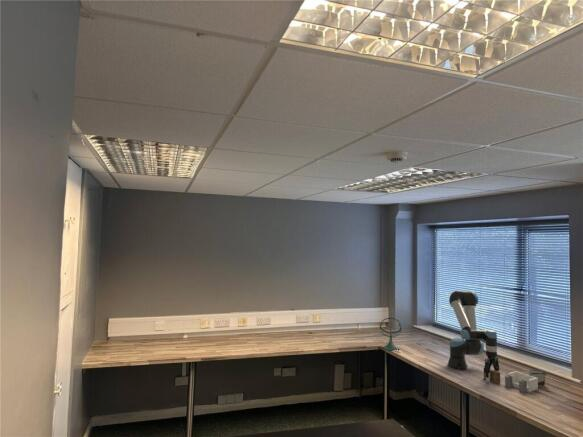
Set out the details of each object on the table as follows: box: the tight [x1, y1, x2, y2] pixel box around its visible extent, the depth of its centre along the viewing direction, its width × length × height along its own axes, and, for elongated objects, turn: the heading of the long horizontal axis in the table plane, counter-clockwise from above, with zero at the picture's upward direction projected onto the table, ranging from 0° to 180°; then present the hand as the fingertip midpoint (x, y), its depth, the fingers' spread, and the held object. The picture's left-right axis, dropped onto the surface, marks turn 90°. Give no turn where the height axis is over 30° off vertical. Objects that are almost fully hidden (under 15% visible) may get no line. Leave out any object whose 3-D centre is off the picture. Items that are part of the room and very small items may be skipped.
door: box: [483, 368, 501, 385], centre depth 286 cm, size 12×2×8 cm, turn 31°
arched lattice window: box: [528, 369, 547, 387], centre depth 280 cm, size 12×6×10 cm, turn 92°
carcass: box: [504, 370, 539, 393], centre depth 273 cm, size 16×17×8 cm
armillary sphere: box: [379, 312, 403, 352], centre depth 367 cm, size 22×26×35 cm
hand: (491, 380), depth 285 cm, fingers open, 10 cm apart
